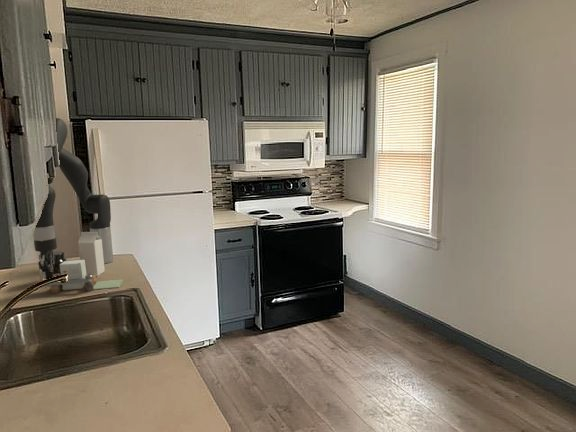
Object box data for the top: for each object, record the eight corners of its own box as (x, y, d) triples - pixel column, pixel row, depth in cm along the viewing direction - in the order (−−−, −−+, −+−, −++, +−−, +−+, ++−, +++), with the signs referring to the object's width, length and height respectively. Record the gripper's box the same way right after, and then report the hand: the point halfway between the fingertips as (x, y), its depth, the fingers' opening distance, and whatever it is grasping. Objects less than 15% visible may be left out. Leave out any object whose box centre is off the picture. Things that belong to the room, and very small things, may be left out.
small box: (88, 284, 175) (85, 259, 174) (83, 288, 170) (80, 262, 168) (67, 285, 174) (64, 260, 172) (62, 290, 169) (59, 264, 167)
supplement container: (39, 286, 174) (36, 257, 172) (41, 279, 184) (38, 252, 182) (68, 282, 179) (65, 254, 177) (69, 276, 188) (66, 249, 186)
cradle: (61, 283, 177) (60, 275, 177) (100, 280, 180) (100, 272, 180) (50, 295, 163) (49, 286, 162) (92, 291, 166) (91, 282, 166)
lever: (39, 285, 164) (38, 278, 164) (93, 280, 168) (92, 273, 168) (37, 287, 162) (36, 280, 161) (92, 282, 166) (91, 275, 165)
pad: (97, 282, 177) (97, 281, 177) (122, 280, 179) (122, 279, 179) (91, 290, 168) (91, 289, 168) (118, 287, 170) (118, 286, 170)
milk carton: (97, 276, 186) (93, 233, 183) (81, 276, 186) (76, 233, 184) (104, 271, 193) (100, 230, 190) (89, 272, 194) (85, 230, 191)
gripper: (40, 235, 171) (45, 277, 174) (27, 241, 158) (33, 287, 161) (60, 233, 173) (65, 275, 175) (49, 240, 160) (55, 285, 163)
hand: (49, 280), depth 168 cm, fingers closed
